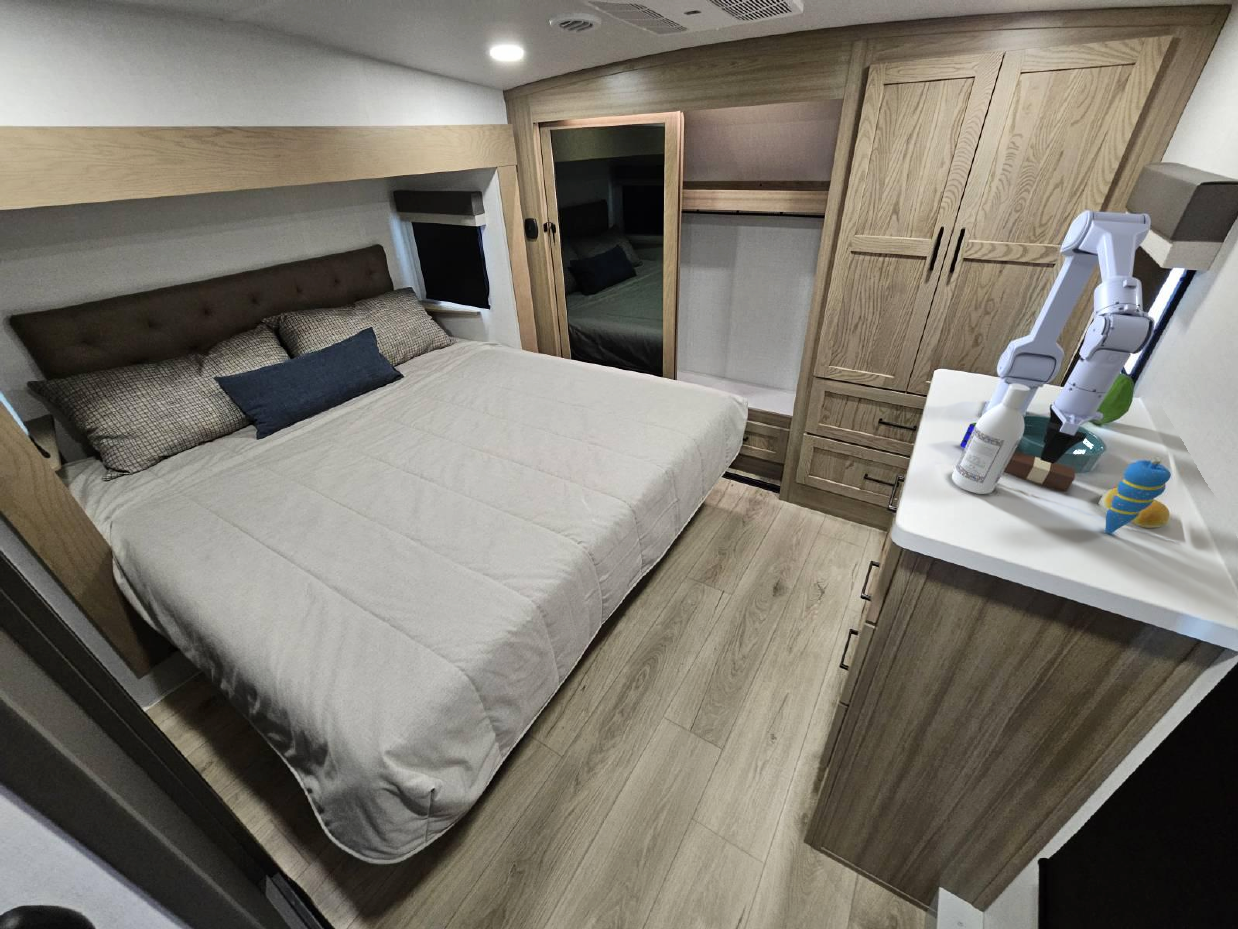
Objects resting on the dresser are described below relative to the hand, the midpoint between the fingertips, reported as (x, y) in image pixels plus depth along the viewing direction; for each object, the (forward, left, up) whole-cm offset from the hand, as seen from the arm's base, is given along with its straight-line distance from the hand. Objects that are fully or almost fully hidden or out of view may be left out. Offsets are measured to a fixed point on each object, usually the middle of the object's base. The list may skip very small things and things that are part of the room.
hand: (1048, 452), depth 95 cm
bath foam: (+10, -9, -6) cm, 15 cm away
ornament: (+11, +11, -6) cm, 17 cm away
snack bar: (0, 0, -6) cm, 6 cm away
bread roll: (+2, +14, -6) cm, 15 cm away
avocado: (-37, +9, -6) cm, 39 cm away
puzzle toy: (-4, -9, -6) cm, 12 cm away
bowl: (-13, +1, -6) cm, 14 cm away
